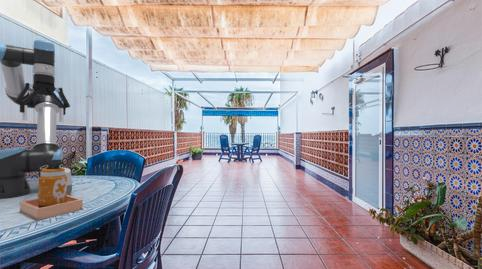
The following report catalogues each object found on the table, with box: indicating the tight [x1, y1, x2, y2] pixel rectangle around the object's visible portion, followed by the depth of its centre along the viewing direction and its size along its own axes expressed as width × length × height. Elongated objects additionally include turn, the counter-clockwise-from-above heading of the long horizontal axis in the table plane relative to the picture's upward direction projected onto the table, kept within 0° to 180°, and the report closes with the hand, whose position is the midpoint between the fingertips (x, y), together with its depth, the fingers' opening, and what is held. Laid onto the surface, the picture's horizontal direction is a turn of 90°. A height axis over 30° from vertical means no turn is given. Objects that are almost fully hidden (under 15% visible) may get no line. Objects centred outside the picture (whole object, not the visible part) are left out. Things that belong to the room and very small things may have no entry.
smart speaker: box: [59, 166, 73, 196], centre depth 116 cm, size 10×9×14 cm
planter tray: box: [19, 194, 84, 221], centre depth 96 cm, size 17×15×4 cm
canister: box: [37, 158, 67, 208], centre depth 96 cm, size 9×11×20 cm
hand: (43, 121), depth 110 cm, fingers open, 13 cm apart
